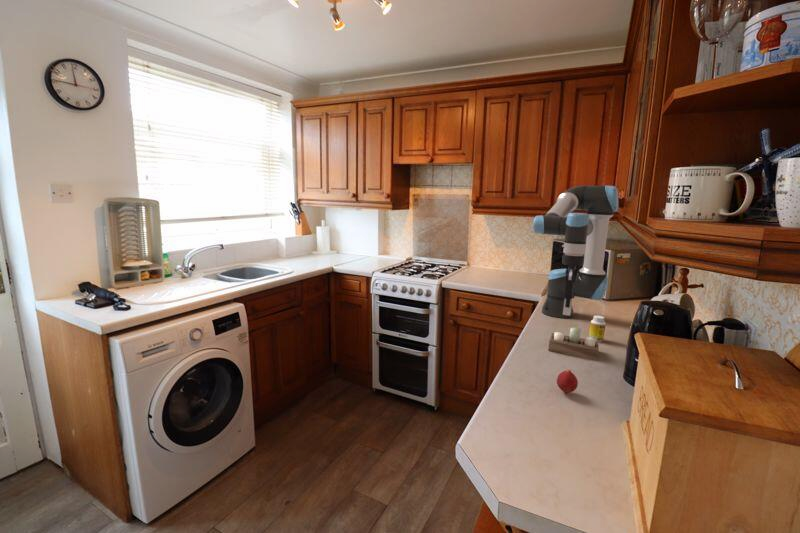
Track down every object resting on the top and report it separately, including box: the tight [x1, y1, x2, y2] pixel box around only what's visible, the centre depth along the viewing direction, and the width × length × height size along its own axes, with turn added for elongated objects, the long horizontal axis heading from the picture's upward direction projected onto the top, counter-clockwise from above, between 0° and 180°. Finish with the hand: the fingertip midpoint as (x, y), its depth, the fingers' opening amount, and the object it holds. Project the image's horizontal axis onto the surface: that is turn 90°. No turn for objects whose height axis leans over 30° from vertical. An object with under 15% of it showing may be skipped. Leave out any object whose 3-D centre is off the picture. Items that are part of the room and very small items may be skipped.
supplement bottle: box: [588, 315, 607, 343], centre depth 159 cm, size 6×6×10 cm
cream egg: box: [554, 331, 565, 341], centre depth 149 cm, size 4×4×5 cm
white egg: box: [584, 336, 596, 347], centre depth 145 cm, size 4×4×5 cm
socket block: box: [547, 332, 600, 361], centre depth 147 cm, size 10×17×4 cm, turn 63°
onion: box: [556, 368, 579, 395], centre depth 115 cm, size 6×6×8 cm
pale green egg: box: [568, 326, 581, 344], centre depth 146 cm, size 4×4×5 cm
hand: (566, 314), depth 146 cm, fingers closed
